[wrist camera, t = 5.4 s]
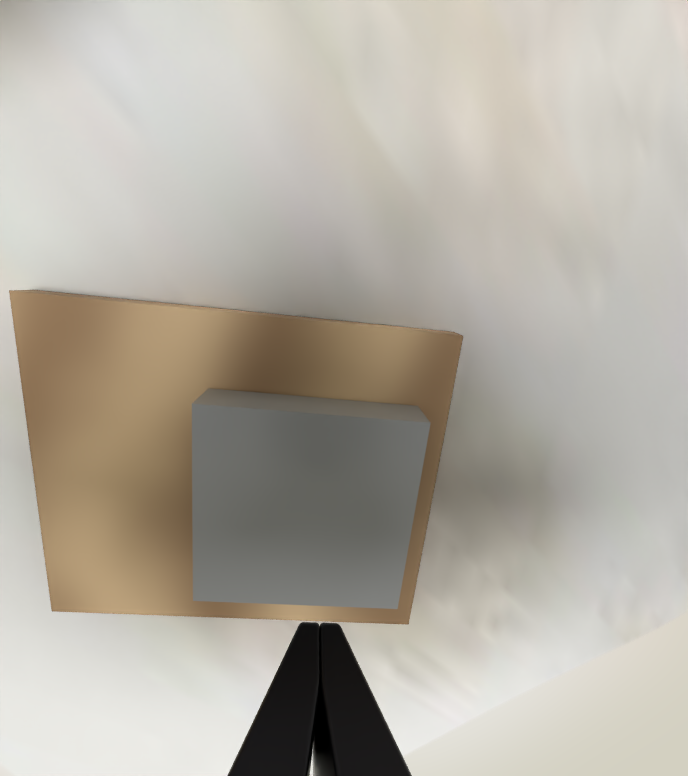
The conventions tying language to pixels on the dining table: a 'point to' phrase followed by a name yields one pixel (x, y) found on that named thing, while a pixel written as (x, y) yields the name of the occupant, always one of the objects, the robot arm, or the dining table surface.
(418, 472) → the tile
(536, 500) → the dining table surface
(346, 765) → the robot arm
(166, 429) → the board
